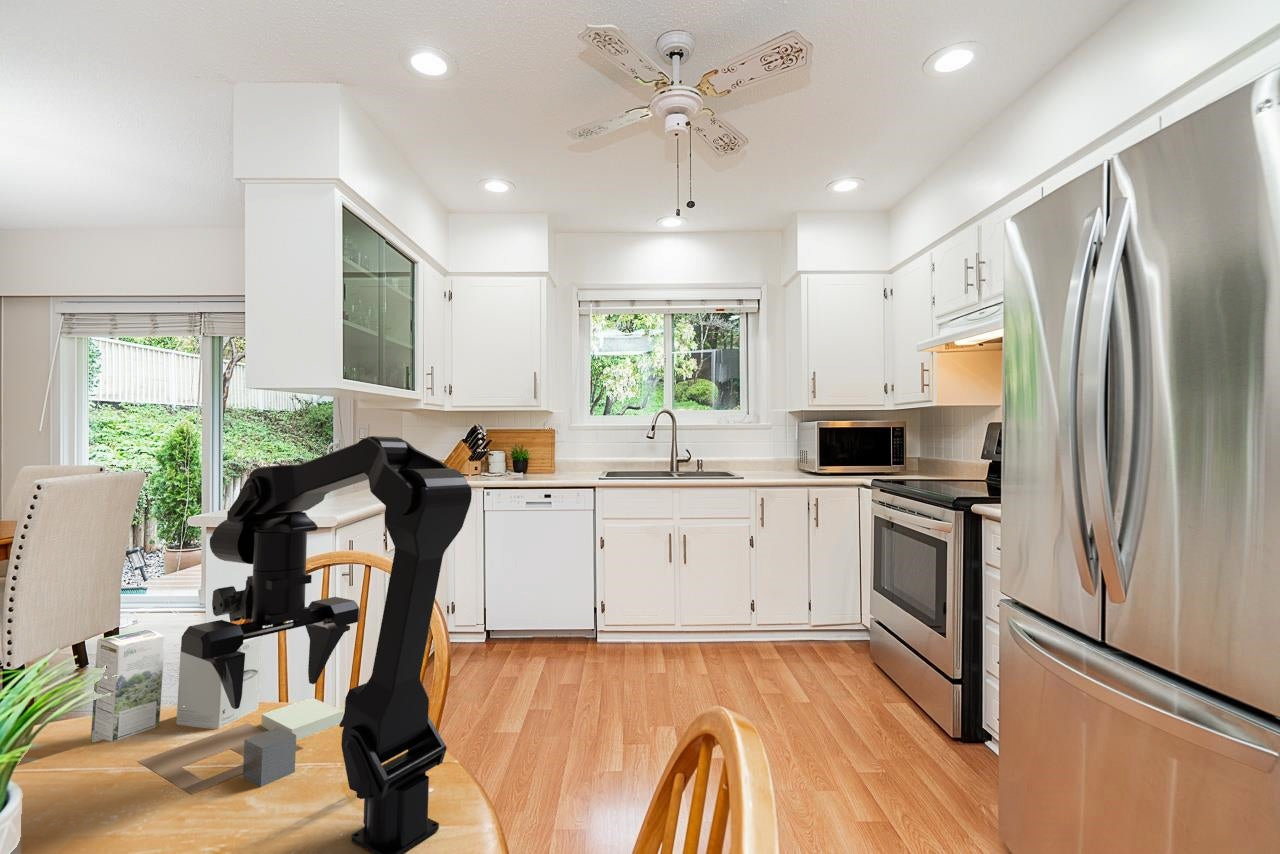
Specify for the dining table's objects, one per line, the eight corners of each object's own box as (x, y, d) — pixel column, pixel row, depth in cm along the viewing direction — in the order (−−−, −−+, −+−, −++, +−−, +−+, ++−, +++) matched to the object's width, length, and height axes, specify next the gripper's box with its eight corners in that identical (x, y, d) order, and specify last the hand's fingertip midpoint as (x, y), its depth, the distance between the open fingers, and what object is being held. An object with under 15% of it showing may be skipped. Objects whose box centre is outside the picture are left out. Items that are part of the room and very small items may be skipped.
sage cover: (342, 735, 88) (343, 711, 88) (291, 755, 82) (292, 729, 82) (311, 720, 93) (312, 697, 93) (260, 739, 87) (261, 714, 87)
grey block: (294, 784, 75) (296, 734, 75) (260, 800, 71) (262, 748, 72) (276, 775, 77) (278, 727, 77) (242, 790, 73) (244, 739, 74)
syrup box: (138, 727, 89) (143, 627, 90) (160, 736, 87) (165, 633, 87) (89, 744, 84) (95, 637, 85) (111, 753, 81) (117, 644, 82)
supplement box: (217, 740, 86) (221, 649, 86) (173, 735, 87) (178, 645, 88) (259, 718, 93) (263, 634, 93) (219, 713, 94) (222, 631, 95)
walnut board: (302, 759, 81) (303, 747, 81) (190, 807, 70) (191, 794, 70) (247, 733, 88) (247, 723, 88) (137, 773, 77) (137, 761, 77)
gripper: (316, 552, 88) (313, 662, 87) (162, 572, 72) (156, 707, 71) (363, 559, 82) (360, 676, 81) (207, 583, 66) (201, 729, 66)
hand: (275, 695), depth 75 cm, fingers open, 9 cm apart
